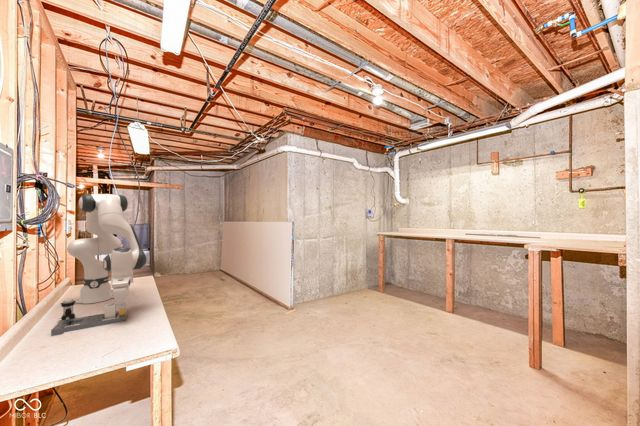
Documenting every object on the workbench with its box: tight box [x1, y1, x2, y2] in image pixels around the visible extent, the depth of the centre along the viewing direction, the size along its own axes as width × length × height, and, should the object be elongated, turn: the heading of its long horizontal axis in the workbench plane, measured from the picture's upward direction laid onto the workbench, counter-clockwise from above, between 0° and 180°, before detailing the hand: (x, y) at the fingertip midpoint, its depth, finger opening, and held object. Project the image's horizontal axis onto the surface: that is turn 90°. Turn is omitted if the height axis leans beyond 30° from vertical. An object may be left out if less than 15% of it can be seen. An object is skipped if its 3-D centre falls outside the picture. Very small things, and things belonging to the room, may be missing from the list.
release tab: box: [118, 308, 127, 315], centre depth 130 cm, size 2×2×4 cm
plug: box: [104, 301, 117, 319], centre depth 128 cm, size 4×4×9 cm
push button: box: [57, 298, 77, 322], centre depth 130 cm, size 7×5×10 cm
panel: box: [50, 309, 129, 337], centre depth 124 cm, size 12×26×3 cm, turn 121°
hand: (122, 307), depth 130 cm, fingers closed
